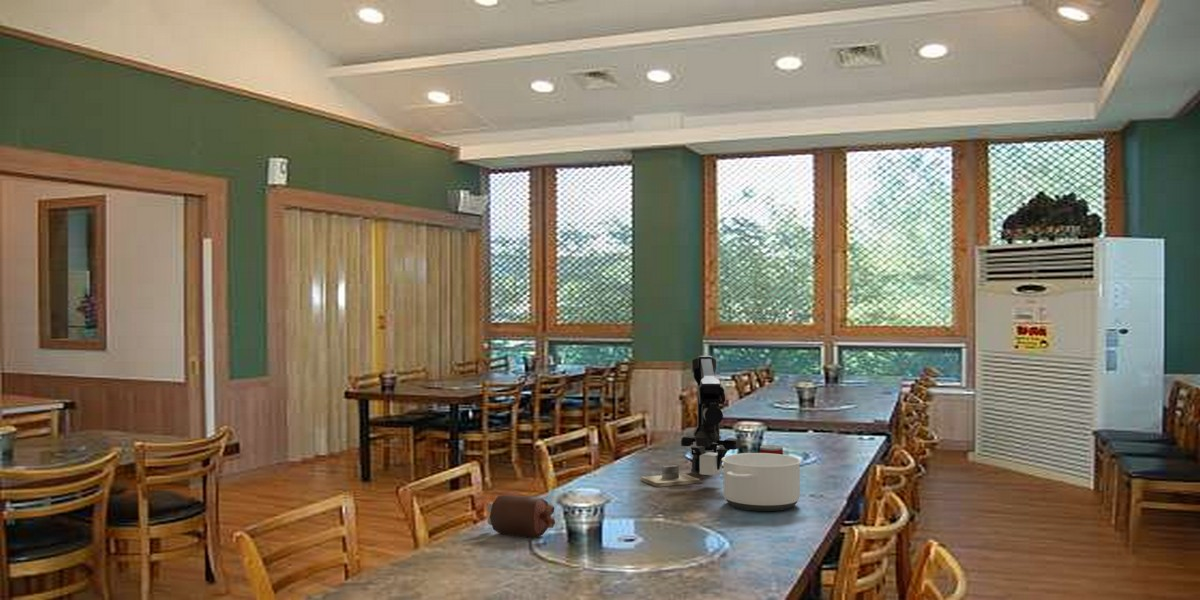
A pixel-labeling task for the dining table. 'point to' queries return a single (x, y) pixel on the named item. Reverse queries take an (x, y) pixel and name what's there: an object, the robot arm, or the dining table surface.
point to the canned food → (771, 449)
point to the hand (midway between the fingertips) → (710, 469)
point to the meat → (520, 515)
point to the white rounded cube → (709, 464)
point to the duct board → (669, 481)
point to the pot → (761, 481)
